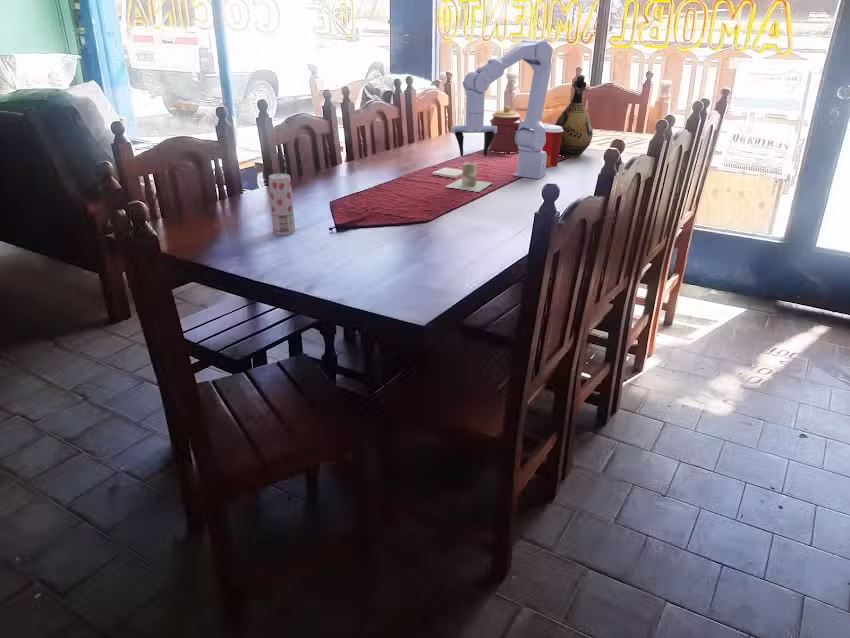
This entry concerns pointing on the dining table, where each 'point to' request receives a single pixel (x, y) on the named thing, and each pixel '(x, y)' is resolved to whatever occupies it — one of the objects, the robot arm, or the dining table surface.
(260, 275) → the dining table surface
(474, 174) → the pusher block
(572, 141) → the ceramic jug
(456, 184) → the mat
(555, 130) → the paper cup
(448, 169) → the tile
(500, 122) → the canister
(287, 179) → the beverage can
